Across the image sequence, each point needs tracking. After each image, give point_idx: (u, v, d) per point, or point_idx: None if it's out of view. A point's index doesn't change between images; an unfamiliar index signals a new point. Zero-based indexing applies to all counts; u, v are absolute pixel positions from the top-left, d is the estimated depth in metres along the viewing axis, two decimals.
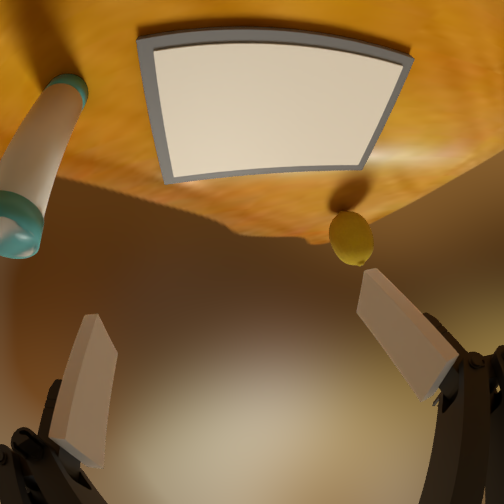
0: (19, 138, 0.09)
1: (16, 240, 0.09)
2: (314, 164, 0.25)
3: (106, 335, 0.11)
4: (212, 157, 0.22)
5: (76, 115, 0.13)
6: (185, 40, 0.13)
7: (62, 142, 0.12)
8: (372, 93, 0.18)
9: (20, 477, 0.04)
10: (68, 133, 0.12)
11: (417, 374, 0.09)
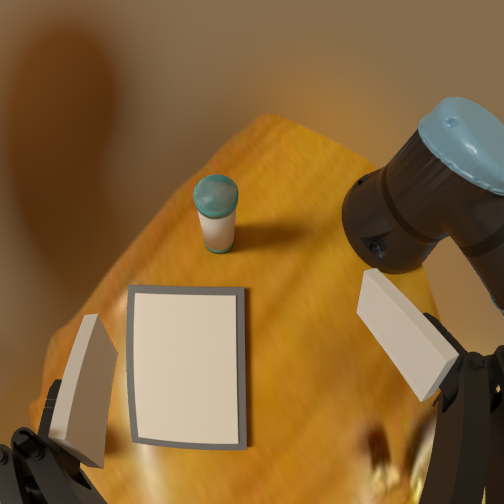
0: None
1: (211, 199, 0.23)
2: (136, 400, 0.27)
3: (106, 335, 0.11)
4: (148, 323, 0.30)
5: (214, 245, 0.31)
6: (239, 312, 0.31)
7: (215, 237, 0.28)
8: (209, 429, 0.27)
9: (19, 477, 0.04)
10: (213, 240, 0.29)
11: (417, 374, 0.09)
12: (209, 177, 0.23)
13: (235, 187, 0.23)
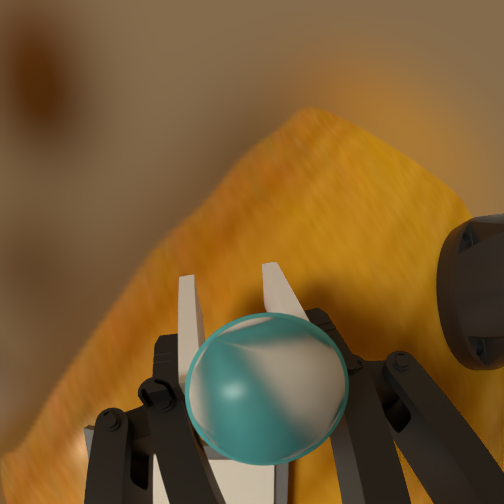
0: None
1: (256, 419, 0.05)
2: None
3: None
4: None
5: None
6: (279, 479, 0.14)
7: None
8: None
9: (127, 448, 0.06)
10: None
11: None
12: (241, 326, 0.06)
13: (339, 364, 0.06)
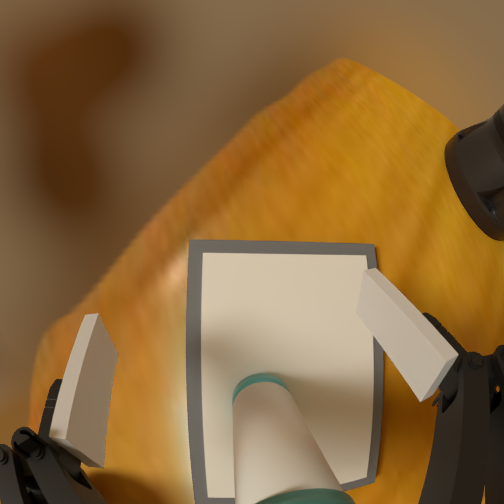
0: (319, 448, 0.09)
1: None
2: (206, 442, 0.15)
3: (106, 335, 0.12)
4: (230, 304, 0.18)
5: None
6: None
7: None
8: None
9: (20, 477, 0.04)
10: None
11: (416, 374, 0.09)
12: None
13: None
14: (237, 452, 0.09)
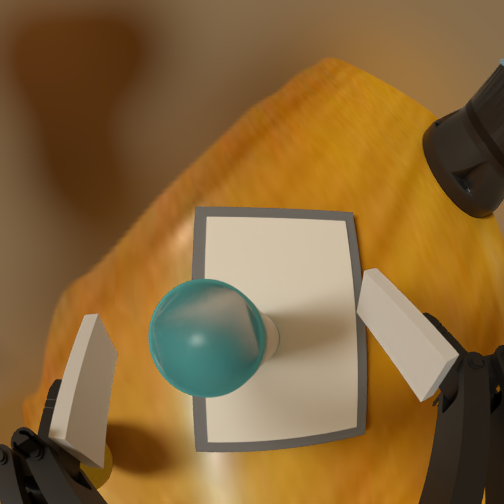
0: (268, 321, 0.13)
1: (203, 360, 0.08)
2: None
3: (106, 335, 0.11)
4: (229, 258, 0.22)
5: None
6: (351, 242, 0.23)
7: None
8: (320, 413, 0.19)
9: (20, 477, 0.04)
10: None
11: (417, 374, 0.09)
12: (163, 305, 0.09)
13: (236, 294, 0.08)
14: None
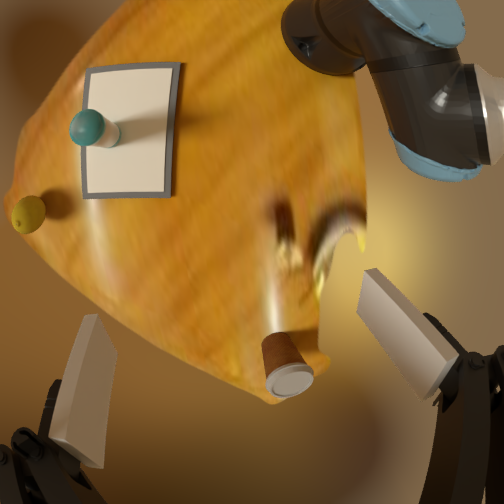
0: (109, 122, 0.26)
1: (86, 133, 0.22)
2: (87, 160, 0.33)
3: (106, 335, 0.11)
4: (100, 95, 0.29)
5: (109, 145, 0.30)
6: (173, 81, 0.31)
7: (106, 143, 0.28)
8: (142, 178, 0.36)
9: (20, 477, 0.04)
10: (106, 145, 0.29)
11: (417, 374, 0.09)
12: (73, 120, 0.21)
13: (95, 112, 0.21)
14: None
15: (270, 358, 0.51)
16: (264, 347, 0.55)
